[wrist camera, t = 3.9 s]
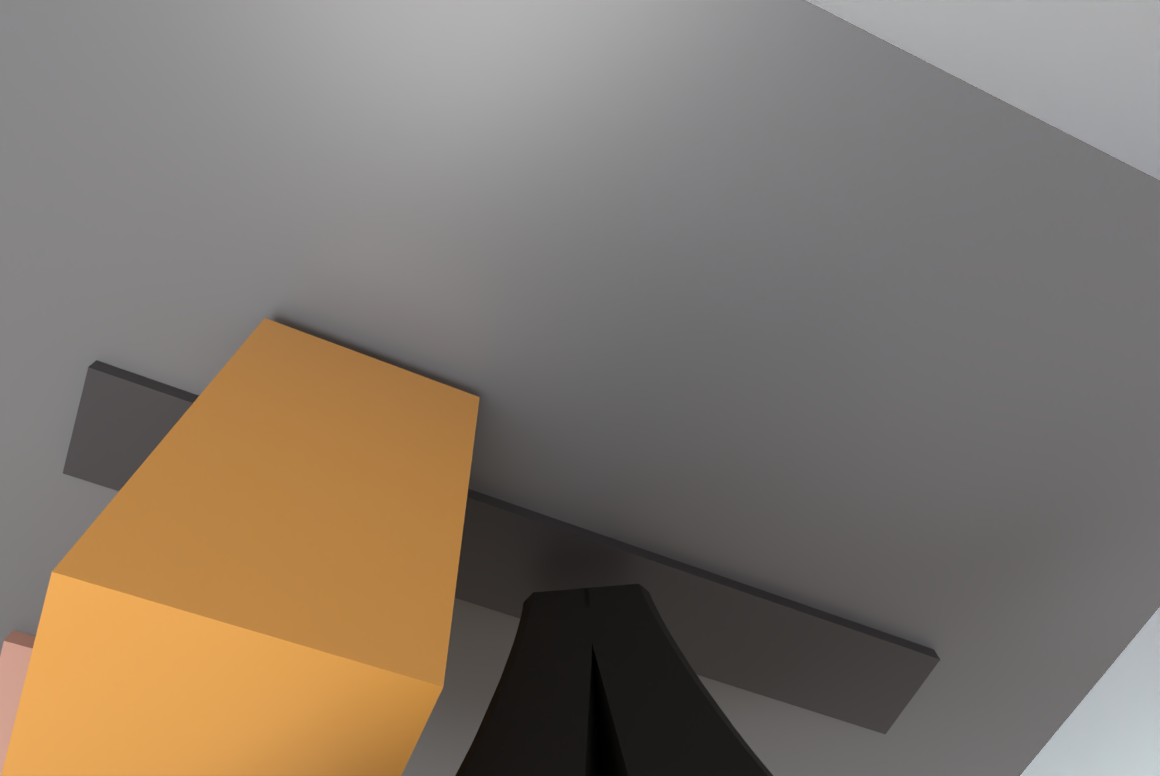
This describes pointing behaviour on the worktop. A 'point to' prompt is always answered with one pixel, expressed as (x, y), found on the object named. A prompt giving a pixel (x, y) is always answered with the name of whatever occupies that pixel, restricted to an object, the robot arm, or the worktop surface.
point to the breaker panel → (621, 334)
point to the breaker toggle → (262, 580)
